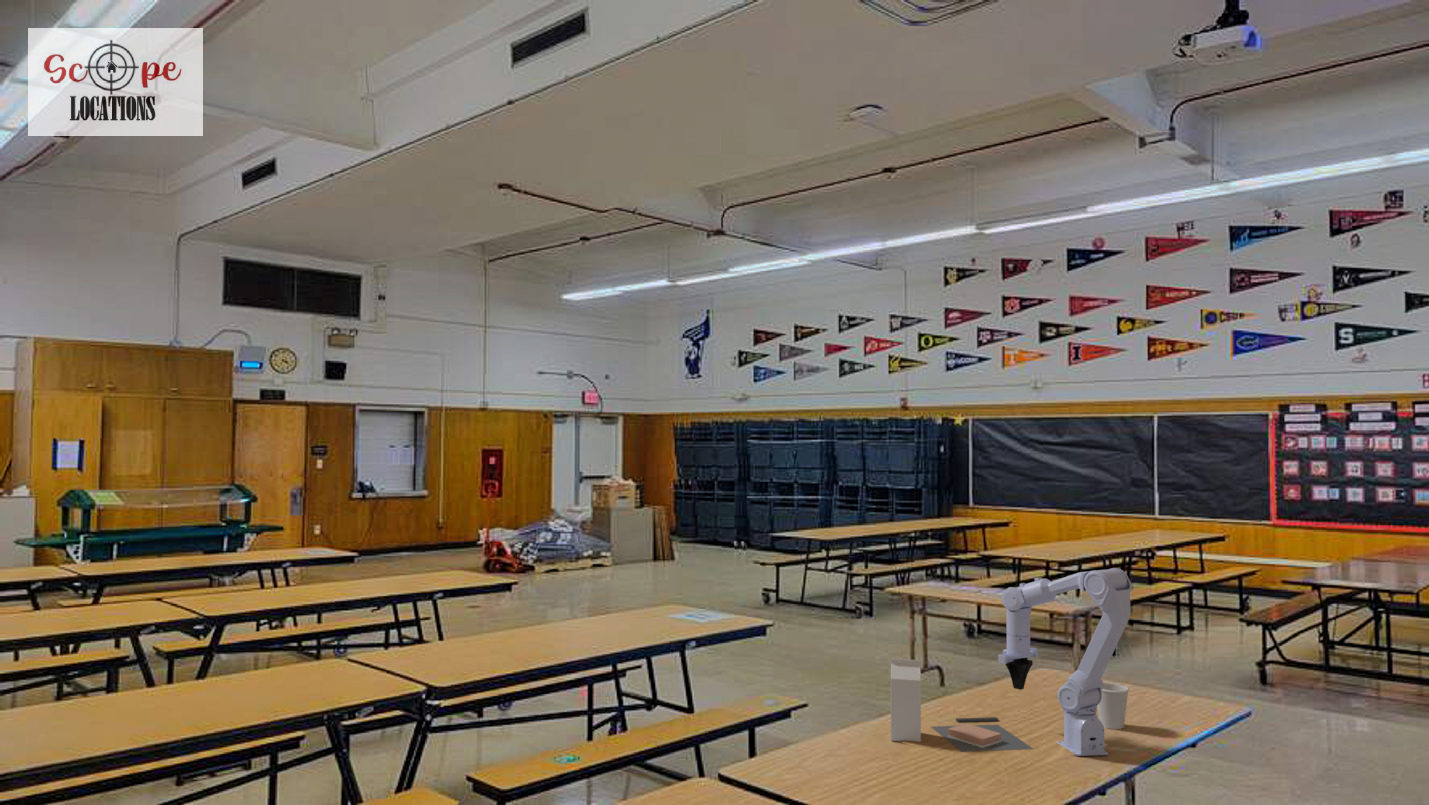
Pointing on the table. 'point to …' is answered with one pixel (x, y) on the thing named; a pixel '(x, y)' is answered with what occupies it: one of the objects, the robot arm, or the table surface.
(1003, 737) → the mat
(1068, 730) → the robot arm
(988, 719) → the turner
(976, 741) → the tile
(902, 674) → the milk carton
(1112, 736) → the table surface
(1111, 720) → the dixie cup
